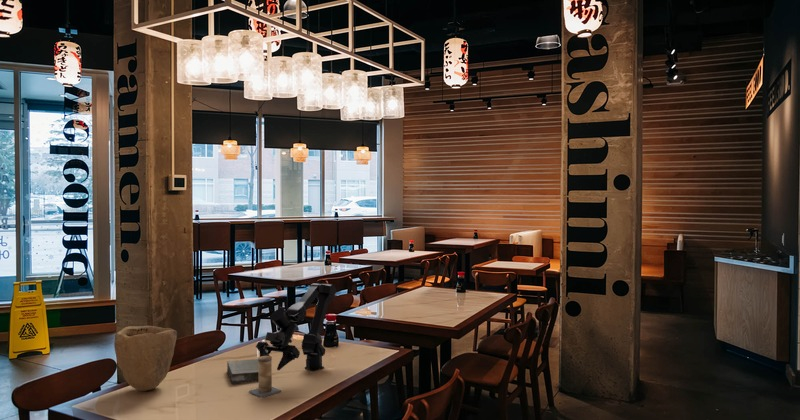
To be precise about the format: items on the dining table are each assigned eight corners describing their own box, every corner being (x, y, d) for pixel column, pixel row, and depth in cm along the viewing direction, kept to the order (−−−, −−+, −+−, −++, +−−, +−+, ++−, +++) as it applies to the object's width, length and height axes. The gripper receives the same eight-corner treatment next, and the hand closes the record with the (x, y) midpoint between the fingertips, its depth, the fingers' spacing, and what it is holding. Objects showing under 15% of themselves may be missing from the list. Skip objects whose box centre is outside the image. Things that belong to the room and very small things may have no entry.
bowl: (189, 386, 218) (188, 325, 218) (137, 404, 199) (136, 337, 199) (156, 378, 230) (155, 320, 230) (104, 393, 212) (103, 330, 211)
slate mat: (268, 386, 217) (268, 385, 217) (281, 391, 211) (281, 390, 211) (248, 392, 210) (248, 391, 210) (261, 397, 204) (261, 396, 204)
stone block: (231, 385, 220) (231, 373, 220) (226, 372, 238) (226, 360, 238) (265, 381, 226) (265, 369, 226) (258, 368, 244) (258, 357, 244)
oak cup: (270, 387, 214) (270, 355, 214) (273, 391, 210) (273, 358, 210) (257, 389, 212) (256, 356, 212) (259, 393, 207) (259, 359, 207)
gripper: (258, 321, 221) (240, 355, 212) (294, 325, 213) (277, 360, 203) (271, 336, 229) (254, 369, 219) (307, 340, 220) (291, 375, 211)
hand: (268, 368), depth 213 cm, fingers open, 9 cm apart
